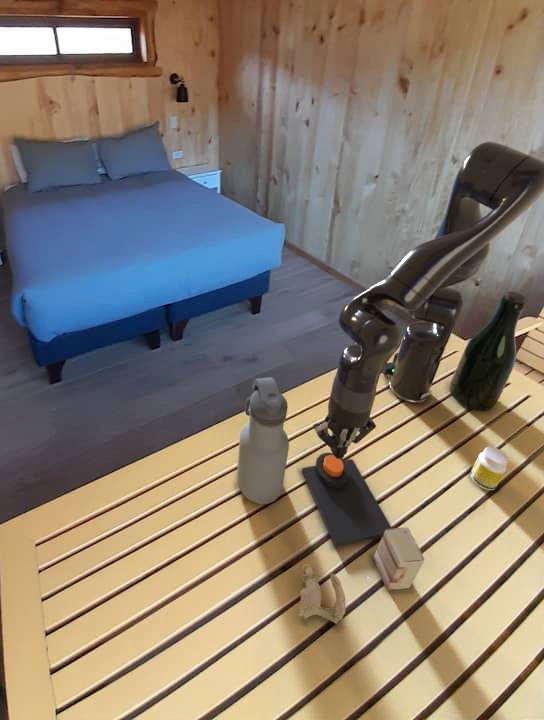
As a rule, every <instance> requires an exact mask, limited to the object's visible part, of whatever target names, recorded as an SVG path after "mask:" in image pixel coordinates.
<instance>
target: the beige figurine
mask: <svg viewBox="0 0 544 720" xmlns="http://www.w3.org/2000/svg"><path fill="white" fill-rule="evenodd" d="M301 576H302V580H303V582H304V584H305V587H302V588H301V590H300V597H299V598H300V600H299V603H298V612H297V617H303V619H304V620H306V619H308V618H309V617H311V616H319V617H320V618H321V617H322V618H323V619H326V620H328V621H330V622H332V623H334V624H338V623H339V622H340V621H341V620H342V619H343V618H344V616H345V615H346V595H345V592H344V589H343V588H342V583H341V581H340V579H339V578H338V576H337V575H336V574H334V573H332V572H329V578H330V582H331V586H332V588H333V590H334V594H335V603H334V605H333V606H332V607H324V606H321V603H322V591H321V586H320V584H319V582H318V580H317V578H316V577H314V572H313V568H312V567H311V565H310V564H308V563H306V564H302V572H301Z"/></svg>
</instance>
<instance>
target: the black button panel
mask: <svg viewBox="0 0 544 720" xmlns="http://www.w3.org/2000/svg"><path fill="white" fill-rule="evenodd" d="M328 455H333V453H332V452H323V453H321V454H320V455H318V457H317V458H316V459H315V460H316V461H315V465H313V466H307V467H302V468H301V474H302V476H303V479H304V481H305V484H306V486H307V488H308V489H309V493H310V494H311V497H312V499H313V501H314V504H315V506H316V508H317V511H318V513H319V515H320V517H321V520H322V522H323V524H324V527H325V529H326V532H327V534H328V536H329V538H330V540H331V542H332V545H333V547H334V548H339V547H342V546H348V545H353V544H357V543H358V544H359V543H363V542H368V541H373V540H376V539H382V537H383V535H384V532H385V530H387V529H393V527H392V525H391V524H390V522H389V521H388V519H387V517H386V515H385V514H384V512H383V509H382V508H381V507H380V505H379V503H378V502H377V500H376V498H375V496H374V494H373V492H372V491H371V490H370V487H369V486H368V484H367V482H366V481H365V478H364V477H363V476H362V475H363V474H362V473H361V472H360V470H359V468H358V467H357V465H356V463H355V461H354V460H353V458H351V459H346V460H345V459H344V458H340V459H341V461H342V462H343V465H344V468H343V472H342V475H341V476H340V477H336V478H335V477H331V476H329V475H328V474H327V473H326V472H325V471H324V468H323V463H324V459H325V457H326V456H328Z"/></svg>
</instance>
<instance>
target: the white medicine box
mask: <svg viewBox="0 0 544 720" xmlns="http://www.w3.org/2000/svg"><path fill="white" fill-rule="evenodd" d="M424 557H425V556H424V555H423V553H422V550H421V549H420V547H419V544H418V542H417V541H416V539H415V537H414V536H413V533H412V532H411V530H410V529H409V527H407V526H405V527H395V528H392V529H387V530H385V532H384V535H383V537H382V538H380V541H379V544H378V546H377V549H376V551H375V554H374V556H373V561H374V563H375V565H376V568H377V570H378V573H379V575H380V578H381V580H382V582H383V584H384V586H385V589H386V590H388V591H390V590H391V591H392V590H403V589H410V587H412V584H413V582H414V581H415V579H416V577H417V575H418V573H419V571H420V570H421V568H422V566H423V565H424V562H425V561H426V560H425V558H424Z"/></svg>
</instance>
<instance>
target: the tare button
mask: <svg viewBox="0 0 544 720" xmlns="http://www.w3.org/2000/svg"><path fill="white" fill-rule="evenodd" d="M323 468H324V471H325V472H326V473H327V474H328V475H329V476H331V477H335V478H336V477H340V476H341V475H342V472H343V468H344V465H343V462H342V461H341V459H340V458H339V459H336V457H334V455H328V456H326V457H325V459H324V463H323Z"/></svg>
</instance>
